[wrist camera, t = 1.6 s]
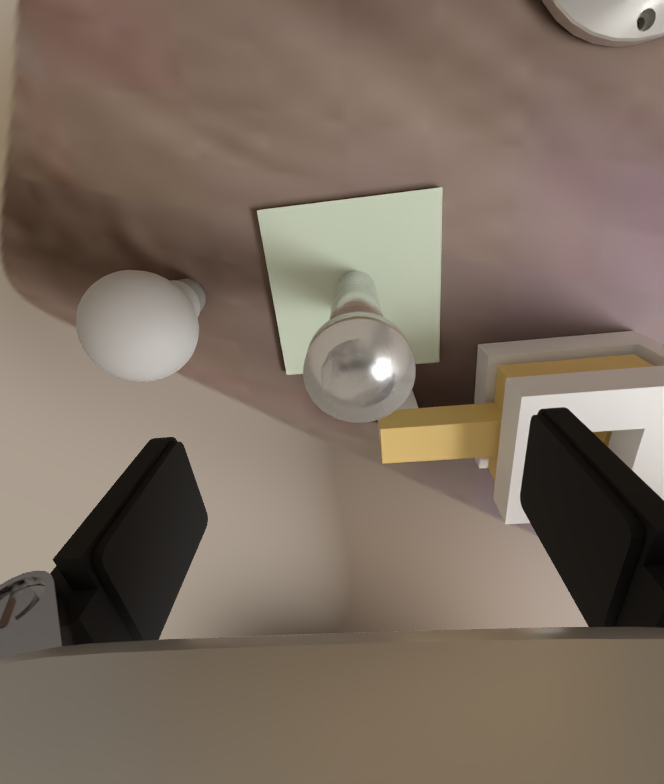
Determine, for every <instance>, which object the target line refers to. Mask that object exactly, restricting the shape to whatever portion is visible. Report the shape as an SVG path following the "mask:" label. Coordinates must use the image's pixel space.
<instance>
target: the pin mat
mask: <svg viewBox="0 0 664 784" xmlns="http://www.w3.org/2000/svg"><path fill="white" fill-rule="evenodd" d="M257 215H258V220H259V226H260V231H261V237H262V242H263V248H264V253H265V259H266V264H267V270H268V275H269V280H270V286H271V291H272V297H273V302H274V308H275V313H276V319H277V324H278V330H279V335H280V341H281V346H282V352H283V357H284V363H285V368H286V374H287V375H292V374H303V366H304V361H305V357H306V353H307V350H308V347H309V344H310V342H311V340H312V338H313V336H314V335H315V333H316V332H317V331H318V330H319V328H320V327H321V326H322V325H324V324H325V323H326V322H327V321H329V319H330V313H331V307H332V301H333V295H334V289H335V285H336V283H337V281H338V279H339V278H340V277H341V276H342V275H344V274H345V273H347V272H350V271H361V272H364V273H366V274H368V275H369V276H370V277H371V278H372V279H373V281H374V283H375V286H376V290H377V293H378V297H379V301H380V305H381V309H382V312H383V316H384V318H386V319H388V320H390V321H391V322H392V323H394V324H395V325H396V326H397V327H398V328H399V329H400V330H401V331H402V333H403V334H404V336H405V337H406V339H407V341H408V344H409V346H410V349H411V352H412V354H413V357H414V361H415V364H423V363H435V362H439V345H440V290H441V234H442V187H439V188H431V189H423V190H415V191H407V192H399V193H391V194H383V195H375V196H367V197H359V198H351V199H343V200H335V201H327V202H319V203H311V204H302V205H294V206H286V207H278V208H270V209H262V210H257Z"/></svg>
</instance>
